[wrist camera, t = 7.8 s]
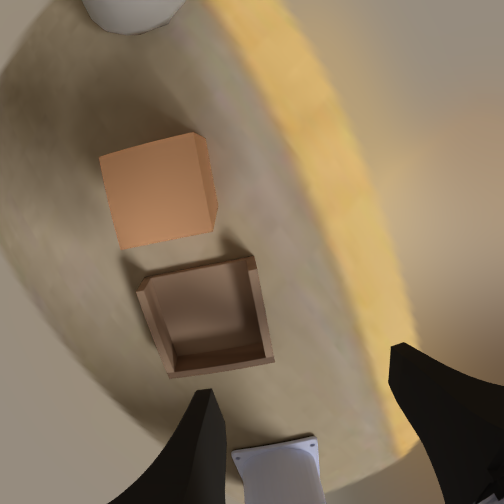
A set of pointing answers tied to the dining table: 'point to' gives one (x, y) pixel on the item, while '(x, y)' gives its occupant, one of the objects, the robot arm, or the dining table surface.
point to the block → (160, 190)
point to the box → (207, 318)
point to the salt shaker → (131, 14)
